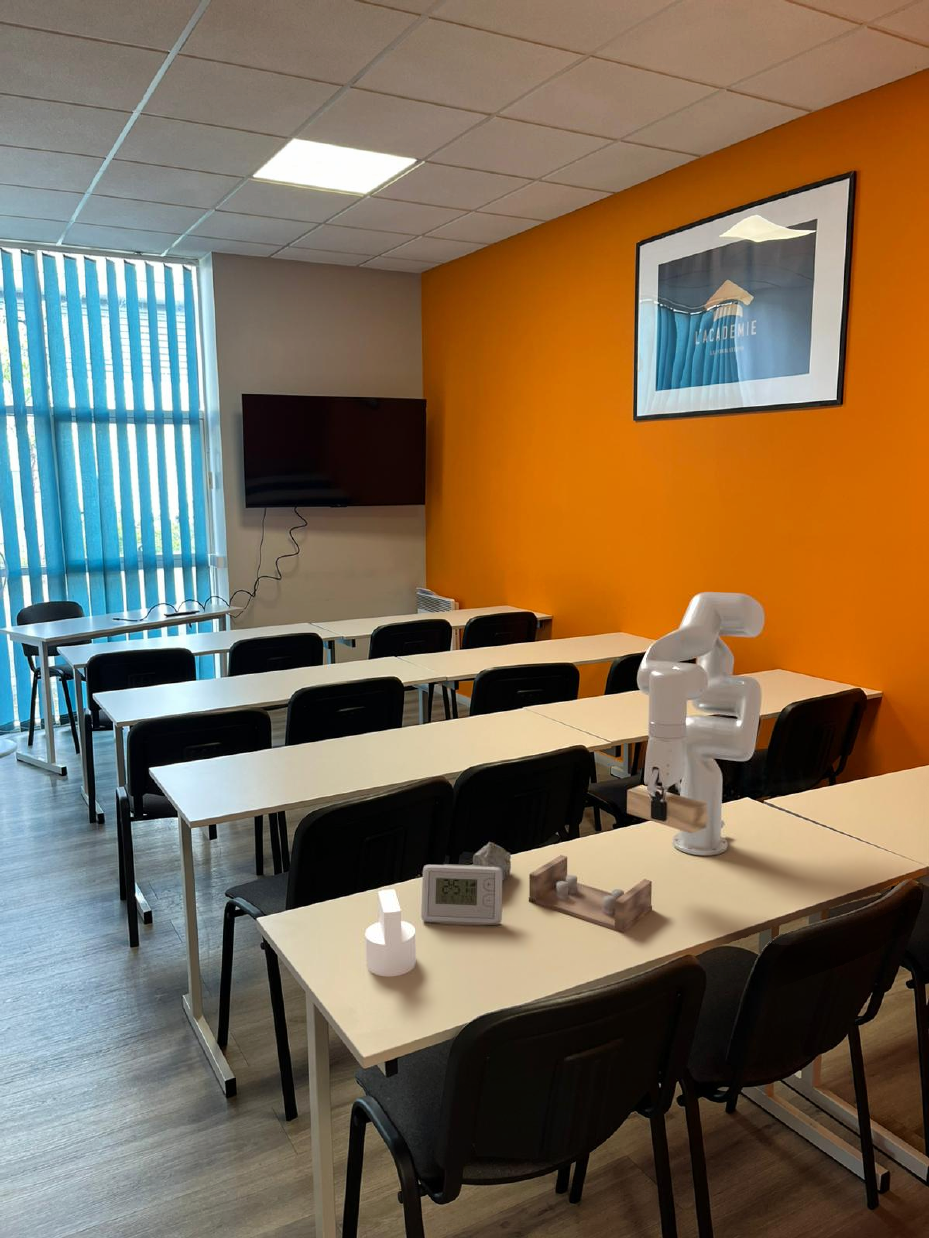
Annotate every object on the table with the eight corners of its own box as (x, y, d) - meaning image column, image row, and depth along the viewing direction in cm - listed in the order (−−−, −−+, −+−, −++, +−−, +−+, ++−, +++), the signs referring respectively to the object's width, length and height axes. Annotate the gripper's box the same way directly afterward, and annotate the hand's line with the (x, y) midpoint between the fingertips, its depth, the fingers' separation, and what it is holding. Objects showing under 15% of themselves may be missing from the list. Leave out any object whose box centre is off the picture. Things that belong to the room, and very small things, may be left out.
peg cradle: (560, 880, 195) (560, 854, 194) (652, 909, 181) (652, 881, 180) (528, 901, 186) (528, 873, 185) (623, 932, 172) (623, 903, 171)
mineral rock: (505, 869, 202) (504, 826, 200) (532, 887, 192) (532, 842, 191) (455, 882, 195) (454, 838, 194) (481, 901, 186) (480, 855, 184)
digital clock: (417, 923, 177) (415, 872, 176) (433, 903, 186) (432, 854, 184) (495, 935, 172) (495, 882, 171) (508, 913, 181) (508, 863, 179)
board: (641, 807, 192) (641, 784, 191) (706, 827, 180) (706, 803, 180) (626, 812, 189) (627, 790, 188) (691, 833, 177) (692, 809, 176)
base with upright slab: (419, 972, 159) (418, 909, 157) (369, 979, 157) (366, 914, 155) (412, 947, 168) (410, 887, 166) (363, 953, 166) (361, 892, 164)
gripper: (667, 718, 191) (665, 800, 193) (631, 735, 177) (629, 823, 180) (701, 723, 187) (699, 807, 189) (666, 741, 173) (664, 831, 175)
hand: (665, 814), depth 184 cm, fingers closed on board, 5 cm apart
